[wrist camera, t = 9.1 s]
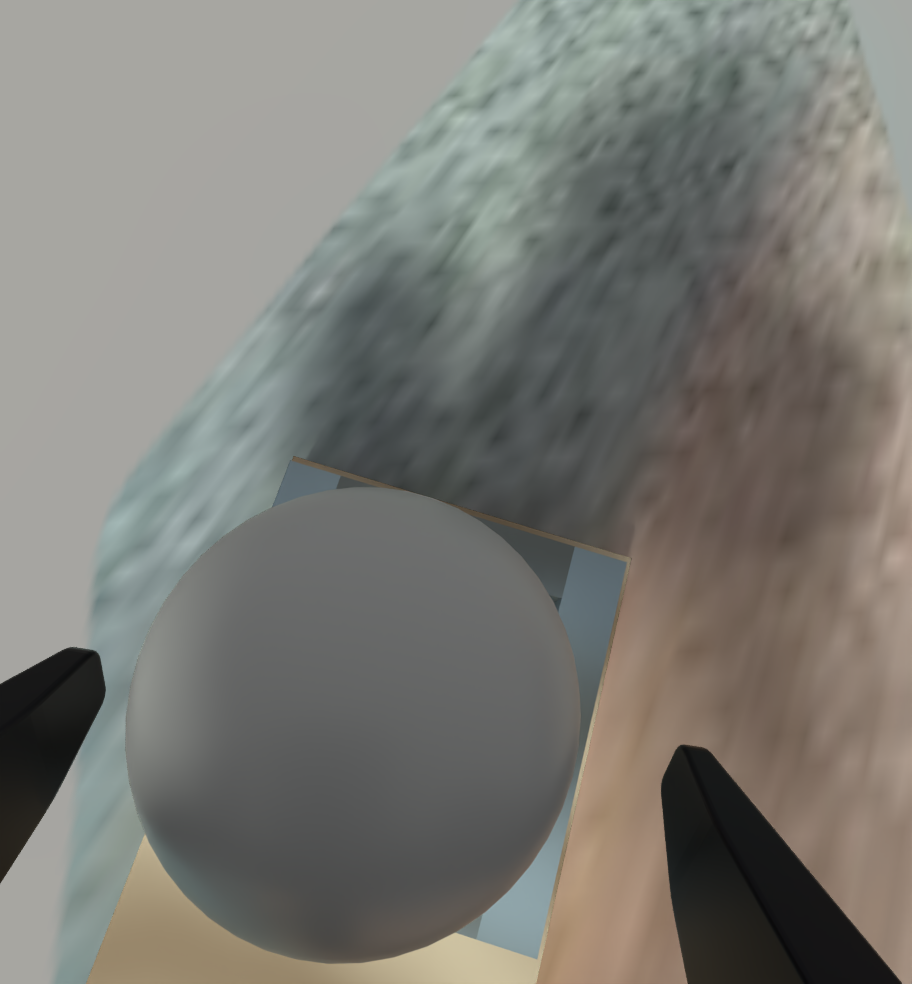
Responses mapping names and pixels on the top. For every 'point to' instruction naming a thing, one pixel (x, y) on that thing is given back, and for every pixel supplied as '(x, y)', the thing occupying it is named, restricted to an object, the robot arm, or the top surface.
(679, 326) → the top surface
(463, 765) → the cylinder
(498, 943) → the jig
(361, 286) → the top surface
